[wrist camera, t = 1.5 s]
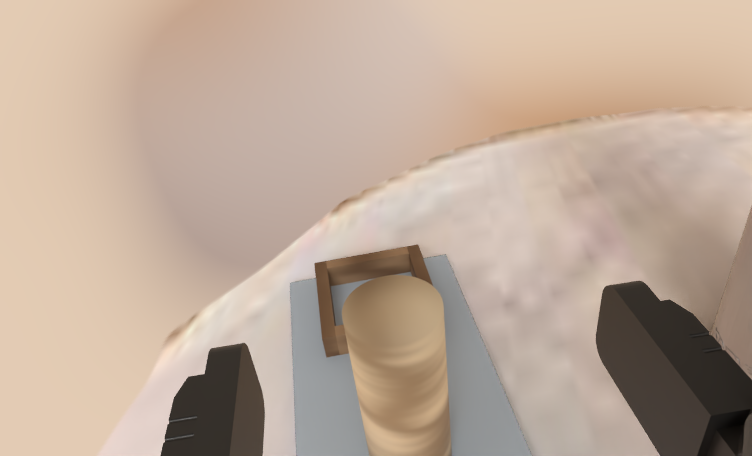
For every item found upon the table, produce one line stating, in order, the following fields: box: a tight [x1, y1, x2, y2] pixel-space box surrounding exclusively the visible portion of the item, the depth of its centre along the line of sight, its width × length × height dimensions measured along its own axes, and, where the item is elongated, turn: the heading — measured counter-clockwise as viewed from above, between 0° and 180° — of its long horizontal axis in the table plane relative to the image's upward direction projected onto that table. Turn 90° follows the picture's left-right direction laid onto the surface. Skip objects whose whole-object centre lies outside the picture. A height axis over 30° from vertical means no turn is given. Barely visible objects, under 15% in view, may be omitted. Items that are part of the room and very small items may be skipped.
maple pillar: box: [342, 275, 452, 456], centre depth 31 cm, size 5×5×12 cm
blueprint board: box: [290, 254, 532, 456], centre depth 41 cm, size 14×22×1 cm, turn 9°
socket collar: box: [315, 245, 433, 358], centre depth 45 cm, size 9×9×2 cm
